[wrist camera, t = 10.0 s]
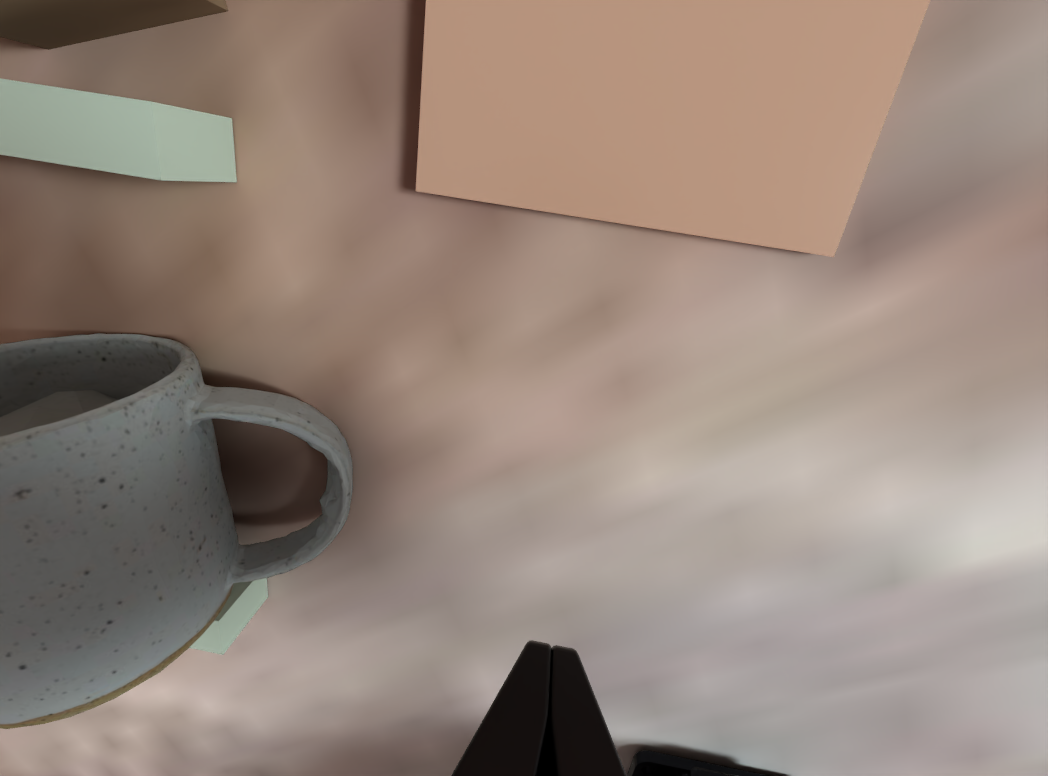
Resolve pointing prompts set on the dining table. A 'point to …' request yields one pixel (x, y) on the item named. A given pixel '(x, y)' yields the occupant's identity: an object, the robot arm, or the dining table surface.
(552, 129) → the terracotta tile
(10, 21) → the walnut block
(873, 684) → the dining table surface
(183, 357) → the ceramic mug
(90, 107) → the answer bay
